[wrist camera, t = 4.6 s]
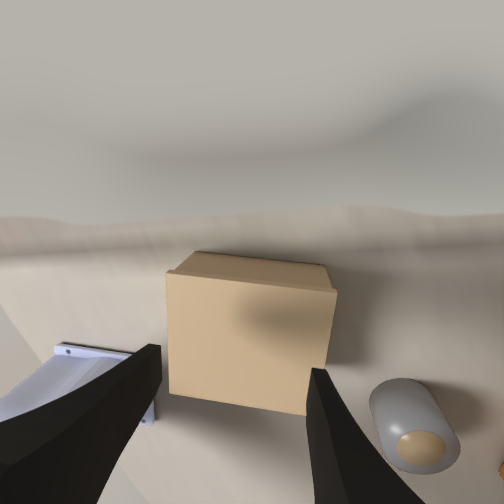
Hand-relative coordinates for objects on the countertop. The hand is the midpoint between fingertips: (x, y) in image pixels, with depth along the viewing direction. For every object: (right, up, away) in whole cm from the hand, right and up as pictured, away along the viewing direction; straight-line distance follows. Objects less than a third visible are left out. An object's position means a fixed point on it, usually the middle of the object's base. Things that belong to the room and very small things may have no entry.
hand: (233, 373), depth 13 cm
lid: (0, 0, +5) cm, 5 cm away
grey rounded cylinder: (+13, -7, +10) cm, 18 cm away
